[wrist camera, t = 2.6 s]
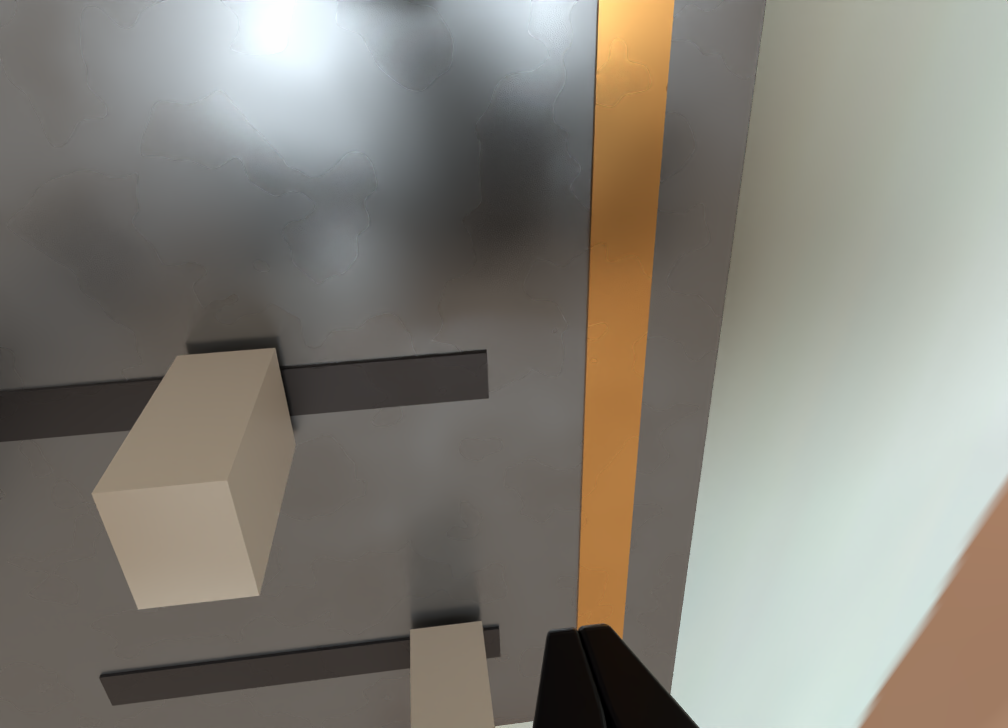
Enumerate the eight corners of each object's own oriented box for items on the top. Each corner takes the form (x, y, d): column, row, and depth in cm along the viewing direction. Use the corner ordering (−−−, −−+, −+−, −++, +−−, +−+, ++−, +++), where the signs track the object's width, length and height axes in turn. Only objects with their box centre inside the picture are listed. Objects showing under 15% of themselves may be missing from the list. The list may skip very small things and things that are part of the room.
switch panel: (-10, 736, 22) (-47, 803, 20) (-724, -395, 10) (-986, -483, 8) (650, 651, 24) (669, 705, 23) (763, -366, 12) (828, -431, 10)
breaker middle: (205, 453, 16) (138, 609, 12) (177, 355, 14) (90, 493, 10) (295, 444, 16) (259, 596, 12) (275, 347, 15) (226, 479, 11)
